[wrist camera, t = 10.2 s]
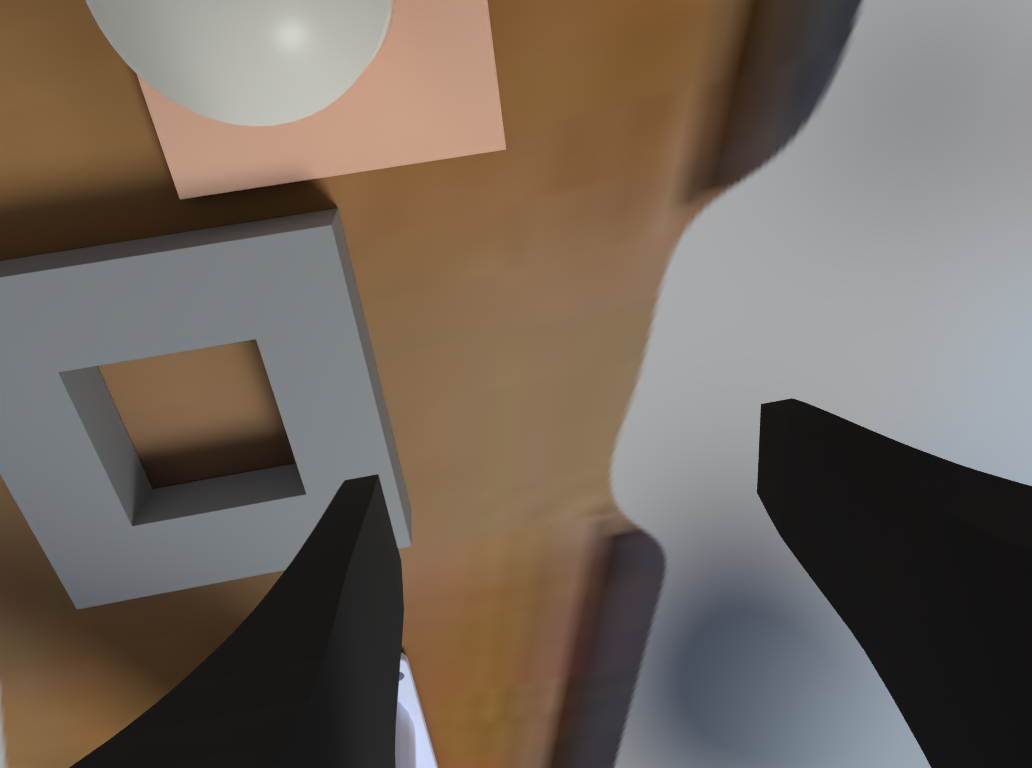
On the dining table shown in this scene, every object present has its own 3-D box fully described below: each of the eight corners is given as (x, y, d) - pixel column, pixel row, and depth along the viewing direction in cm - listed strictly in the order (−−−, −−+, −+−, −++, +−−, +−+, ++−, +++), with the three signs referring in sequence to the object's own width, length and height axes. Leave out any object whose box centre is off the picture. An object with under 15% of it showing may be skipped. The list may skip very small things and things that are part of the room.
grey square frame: (411, 509, 25) (411, 546, 24) (100, 568, 25) (77, 609, 23) (338, 208, 20) (331, 224, 18) (-57, 269, 20) (-103, 293, 18)
